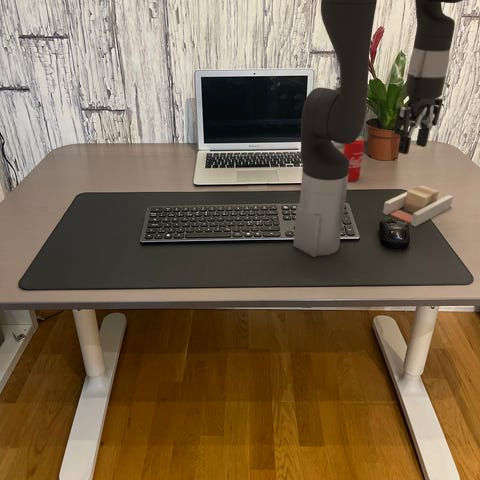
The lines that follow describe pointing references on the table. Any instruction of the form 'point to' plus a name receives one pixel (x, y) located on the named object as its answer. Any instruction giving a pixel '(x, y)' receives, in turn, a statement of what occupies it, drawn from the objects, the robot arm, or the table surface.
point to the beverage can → (354, 157)
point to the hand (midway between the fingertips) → (412, 149)
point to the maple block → (420, 198)
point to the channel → (419, 215)
